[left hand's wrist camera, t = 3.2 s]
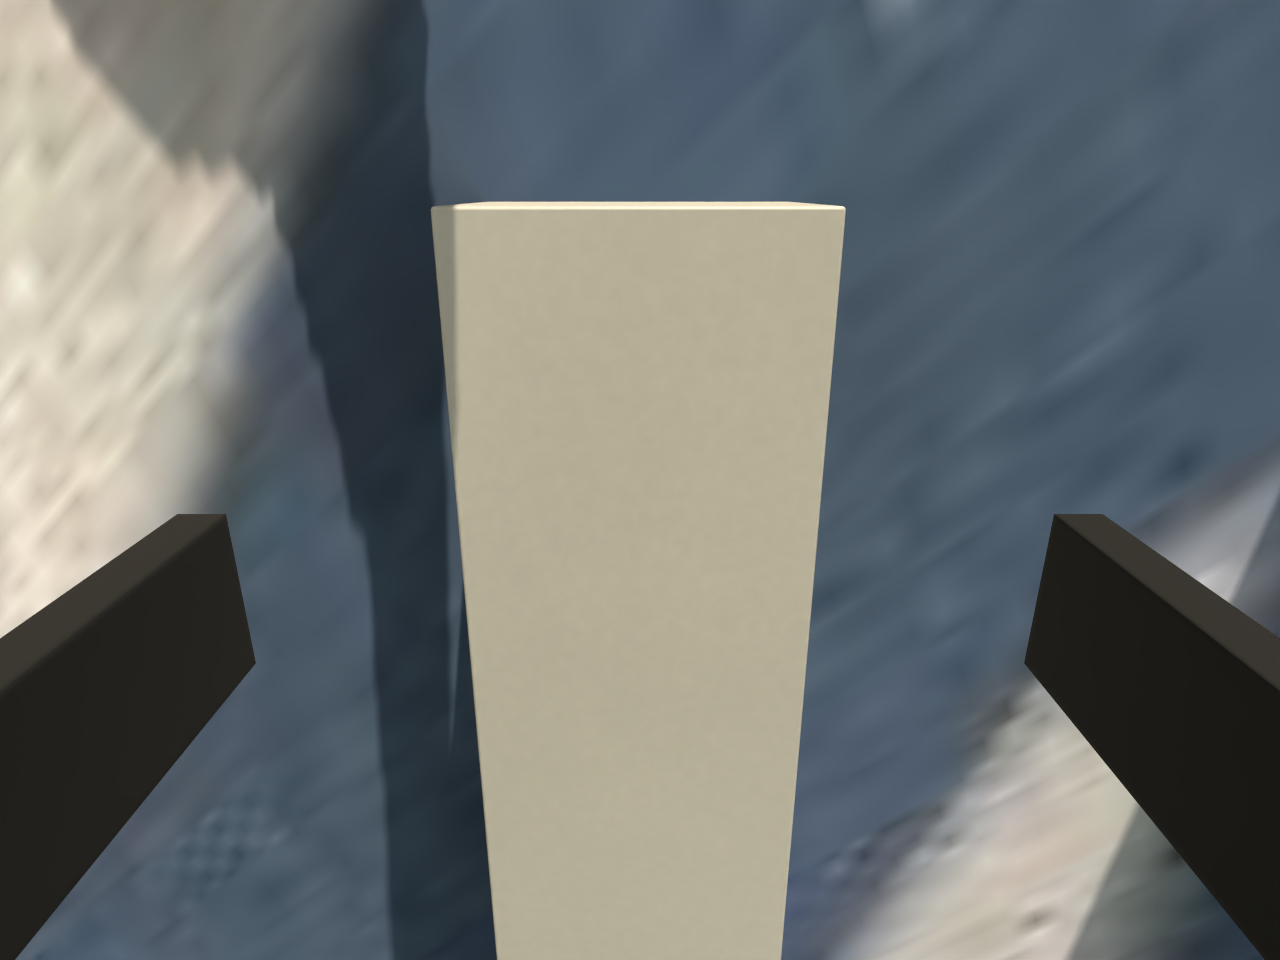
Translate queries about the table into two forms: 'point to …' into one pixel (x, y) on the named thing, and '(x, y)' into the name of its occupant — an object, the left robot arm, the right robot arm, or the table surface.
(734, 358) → the wide beam
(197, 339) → the table surface
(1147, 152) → the table surface
